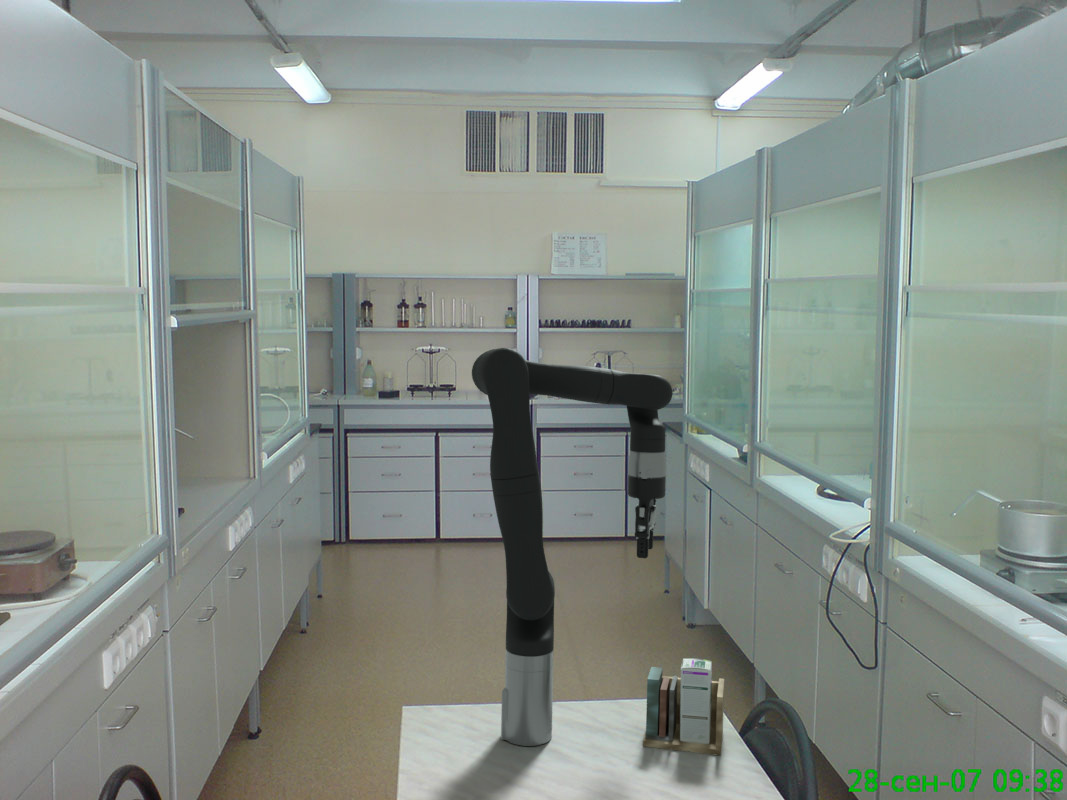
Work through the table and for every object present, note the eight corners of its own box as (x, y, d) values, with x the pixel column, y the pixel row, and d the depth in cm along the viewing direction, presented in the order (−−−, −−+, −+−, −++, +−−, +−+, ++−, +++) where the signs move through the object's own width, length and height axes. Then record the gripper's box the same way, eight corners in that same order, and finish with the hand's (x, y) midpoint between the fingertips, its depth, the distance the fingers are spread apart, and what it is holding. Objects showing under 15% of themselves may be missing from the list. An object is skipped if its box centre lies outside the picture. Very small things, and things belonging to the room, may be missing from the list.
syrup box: (710, 745, 171) (712, 669, 170) (678, 741, 172) (680, 666, 171) (711, 733, 176) (713, 659, 176) (680, 729, 178) (682, 656, 177)
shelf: (642, 746, 172) (644, 682, 172) (649, 723, 183) (651, 663, 182) (720, 755, 169) (722, 690, 168) (722, 731, 179) (724, 670, 179)
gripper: (632, 468, 191) (631, 544, 191) (623, 477, 177) (621, 559, 178) (668, 470, 189) (666, 547, 190) (662, 479, 175) (659, 562, 176)
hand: (644, 553), depth 184 cm, fingers open, 8 cm apart
